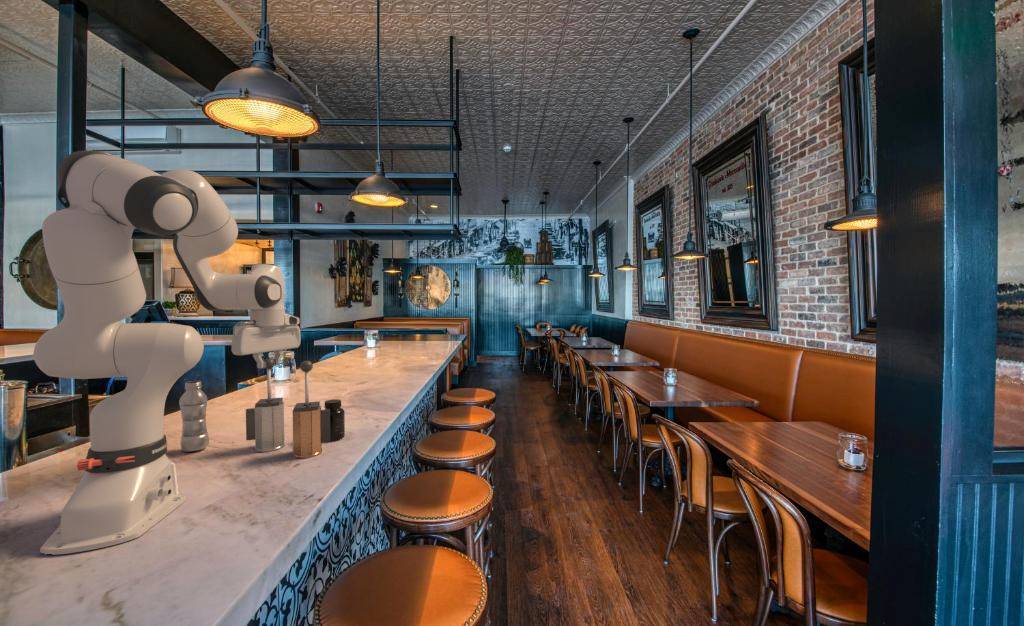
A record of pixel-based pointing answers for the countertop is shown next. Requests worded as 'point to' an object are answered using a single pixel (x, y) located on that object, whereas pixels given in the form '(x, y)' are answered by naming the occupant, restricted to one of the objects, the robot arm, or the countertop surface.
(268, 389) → the steel plunger
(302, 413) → the copper press
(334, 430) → the supplement bottle
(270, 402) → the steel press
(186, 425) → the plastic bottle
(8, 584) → the countertop surface
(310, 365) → the ball knob lever
